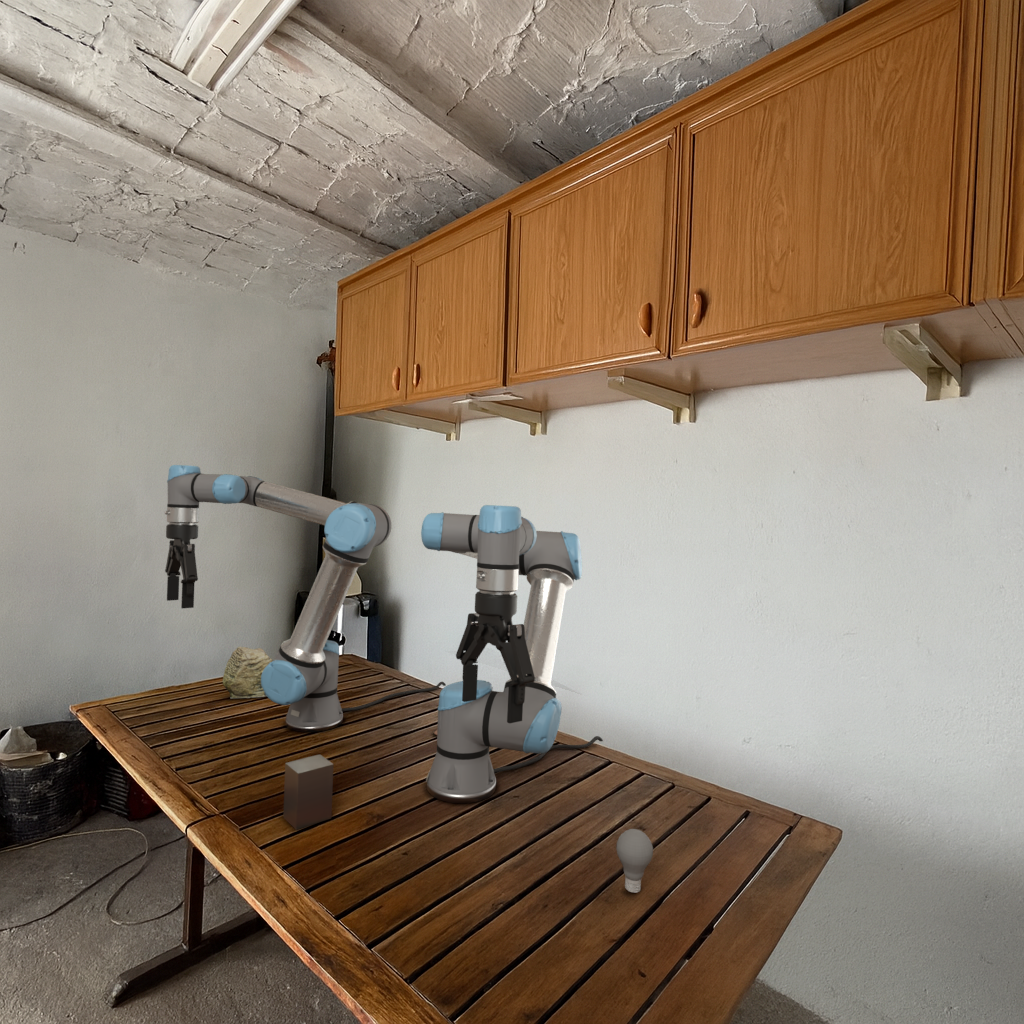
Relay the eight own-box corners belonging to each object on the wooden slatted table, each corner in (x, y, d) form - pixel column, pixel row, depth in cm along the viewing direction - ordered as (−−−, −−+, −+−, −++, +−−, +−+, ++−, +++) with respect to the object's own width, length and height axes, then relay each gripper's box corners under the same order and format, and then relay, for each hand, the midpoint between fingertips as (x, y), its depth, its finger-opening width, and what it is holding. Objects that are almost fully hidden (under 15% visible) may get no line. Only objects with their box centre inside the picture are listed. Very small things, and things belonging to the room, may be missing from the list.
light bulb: (610, 879, 108) (613, 822, 108) (644, 879, 109) (647, 822, 109) (619, 902, 102) (622, 840, 102) (655, 901, 103) (658, 840, 103)
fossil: (218, 695, 195) (220, 647, 195) (278, 685, 208) (279, 640, 207) (228, 703, 189) (230, 653, 188) (289, 692, 201) (290, 645, 201)
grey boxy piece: (283, 817, 125) (285, 763, 124) (317, 806, 129) (319, 754, 129) (296, 830, 120) (298, 773, 120) (331, 818, 125) (333, 763, 125)
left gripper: (154, 521, 174) (151, 598, 174) (180, 526, 155) (177, 612, 156) (184, 521, 179) (181, 596, 179) (213, 526, 160) (210, 610, 161)
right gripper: (441, 583, 120) (436, 695, 120) (524, 602, 101) (518, 735, 101) (473, 582, 125) (468, 689, 125) (559, 600, 105) (553, 727, 105)
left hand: (179, 604), depth 167 cm, fingers open, 13 cm apart
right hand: (490, 710), depth 113 cm, fingers open, 13 cm apart
